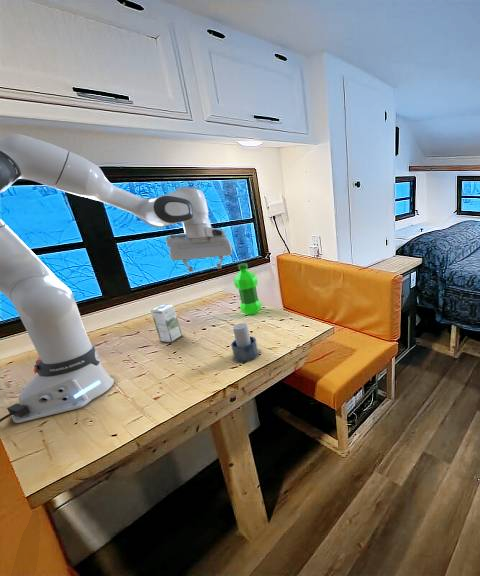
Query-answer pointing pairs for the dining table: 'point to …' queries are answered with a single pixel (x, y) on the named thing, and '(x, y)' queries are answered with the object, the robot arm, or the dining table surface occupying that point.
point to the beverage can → (241, 335)
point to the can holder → (245, 351)
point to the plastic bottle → (247, 290)
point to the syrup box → (166, 323)
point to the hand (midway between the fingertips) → (205, 269)
